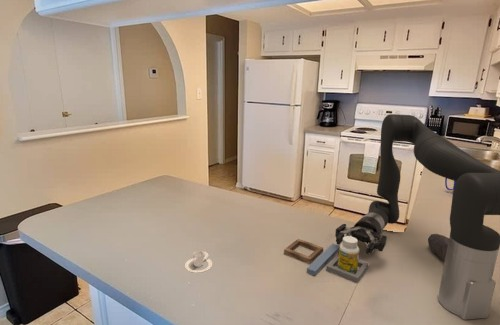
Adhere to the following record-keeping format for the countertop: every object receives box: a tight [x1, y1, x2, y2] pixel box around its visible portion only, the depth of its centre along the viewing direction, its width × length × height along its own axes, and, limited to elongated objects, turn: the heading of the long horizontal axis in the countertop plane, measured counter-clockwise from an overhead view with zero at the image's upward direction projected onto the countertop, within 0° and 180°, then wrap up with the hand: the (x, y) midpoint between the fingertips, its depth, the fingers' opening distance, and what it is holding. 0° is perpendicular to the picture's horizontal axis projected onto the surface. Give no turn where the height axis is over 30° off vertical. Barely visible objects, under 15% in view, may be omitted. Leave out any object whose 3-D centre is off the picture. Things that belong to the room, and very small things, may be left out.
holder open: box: [325, 252, 369, 284], centre depth 87 cm, size 9×9×2 cm
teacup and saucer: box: [184, 250, 213, 274], centre depth 88 cm, size 9×8×4 cm
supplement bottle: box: [337, 235, 360, 274], centre depth 86 cm, size 5×5×10 cm
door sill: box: [306, 243, 340, 277], centre depth 91 cm, size 18×2×2 cm, turn 142°
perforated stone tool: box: [427, 233, 449, 262], centre depth 93 cm, size 15×5×7 cm, turn 3°
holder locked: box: [283, 238, 324, 265], centre depth 95 cm, size 9×9×2 cm
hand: (352, 246), depth 87 cm, fingers open, 8 cm apart
